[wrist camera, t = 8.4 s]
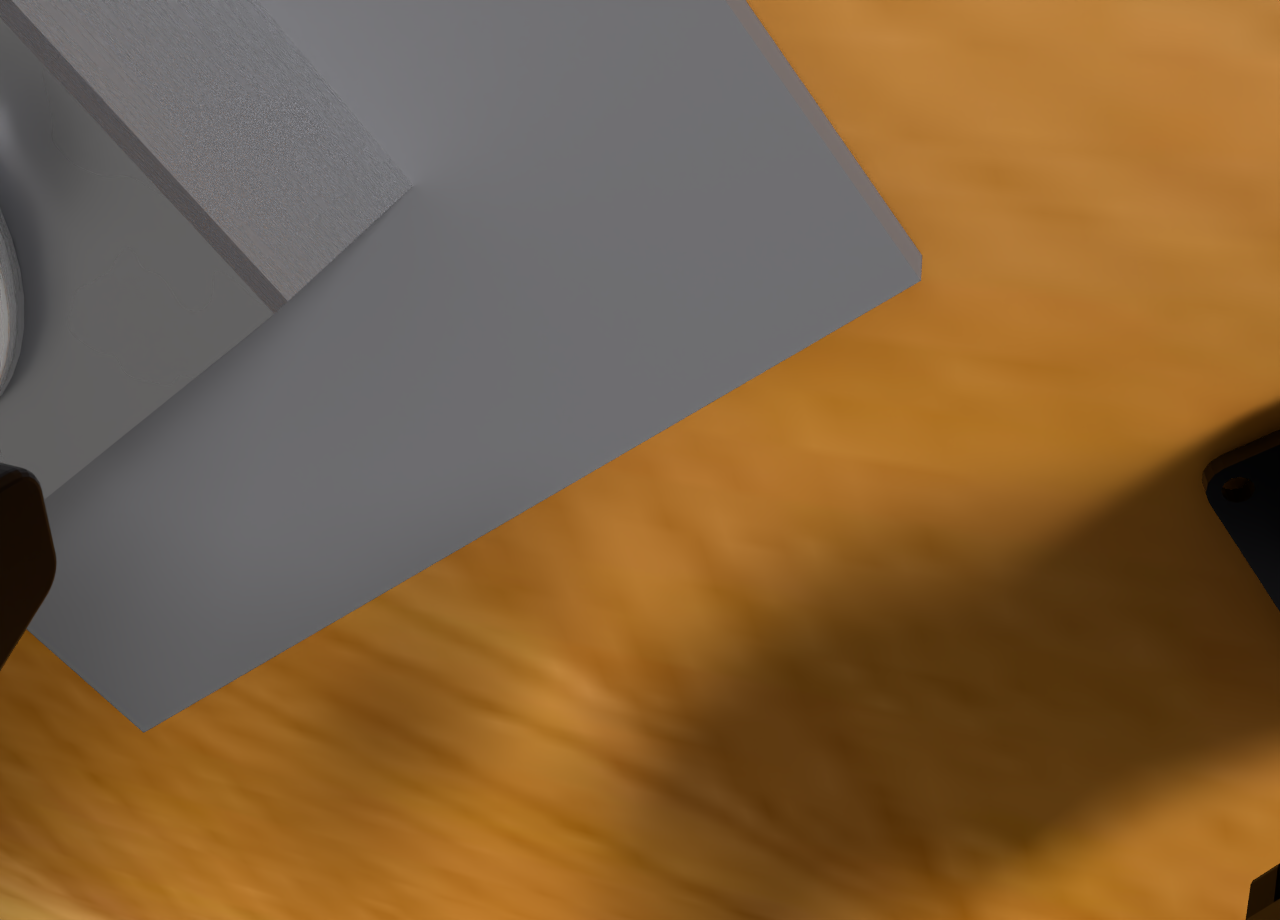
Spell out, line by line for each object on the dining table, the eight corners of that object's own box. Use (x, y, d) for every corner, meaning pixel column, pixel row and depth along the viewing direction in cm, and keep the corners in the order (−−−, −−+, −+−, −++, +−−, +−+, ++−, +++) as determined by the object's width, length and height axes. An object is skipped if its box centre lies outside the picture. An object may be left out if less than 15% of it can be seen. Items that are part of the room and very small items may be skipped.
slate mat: (922, 255, 20) (921, 280, 19) (165, 704, 30) (143, 732, 29) (-175, -1329, 13) (-252, -1401, 12) (-657, -37, 23) (-715, -26, 23)
